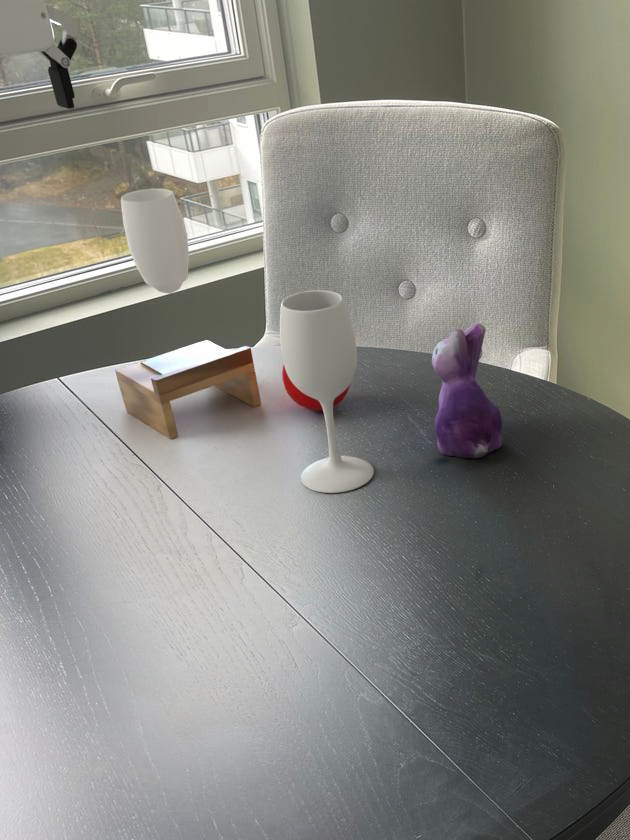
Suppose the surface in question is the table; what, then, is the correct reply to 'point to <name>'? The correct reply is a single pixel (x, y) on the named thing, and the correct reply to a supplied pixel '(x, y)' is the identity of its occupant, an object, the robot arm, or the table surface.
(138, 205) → the cup
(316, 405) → the ornament
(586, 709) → the table surface
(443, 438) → the figurine
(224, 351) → the stand
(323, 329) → the wineglass
